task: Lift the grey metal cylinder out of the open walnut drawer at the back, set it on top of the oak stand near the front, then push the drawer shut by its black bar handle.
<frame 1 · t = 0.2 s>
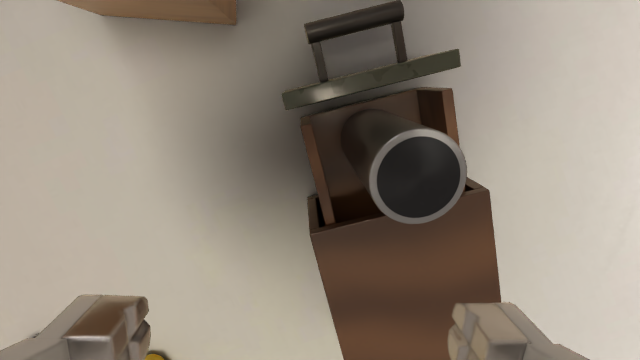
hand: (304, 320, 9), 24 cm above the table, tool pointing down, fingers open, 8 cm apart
grey metal cylinder: (370, 138, 31), point 2 cm above the table, touching drawer
drawer: (374, 136, 28), point 4 cm above the table, slide at 9.0 cm, touching grey metal cylinder
cabinet: (389, 250, 36), on the table
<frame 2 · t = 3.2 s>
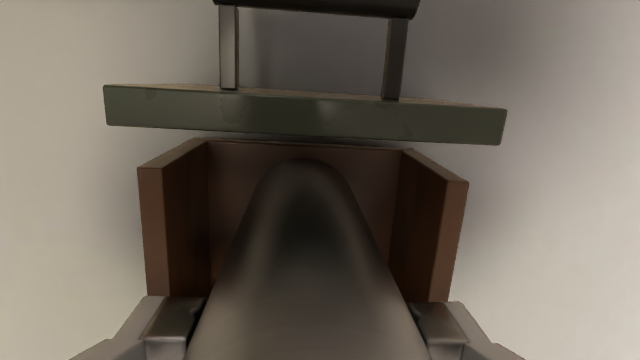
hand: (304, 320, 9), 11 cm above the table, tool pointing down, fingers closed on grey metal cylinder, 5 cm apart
grey metal cylinder: (302, 208, 18), point 2 cm above the table, touching drawer, gripper
drawer: (304, 214, 15), point 4 cm above the table, slide at 9.0 cm, touching grey metal cylinder
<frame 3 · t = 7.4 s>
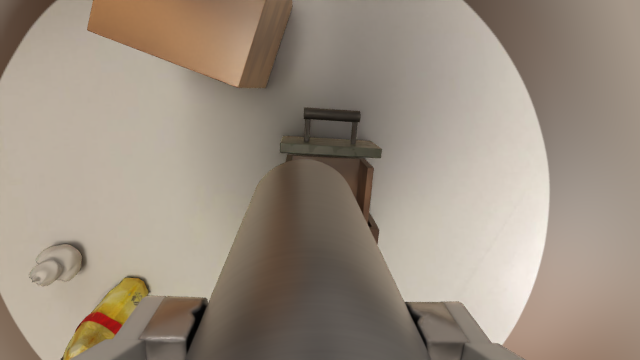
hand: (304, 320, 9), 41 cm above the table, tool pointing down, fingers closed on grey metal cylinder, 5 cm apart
grey metal cylinder: (303, 209, 18), point 32 cm above the table, touching gripper
beige swirled lump: (68, 257, 52), on the table
stand: (238, 32, 45), on the table
drawer: (326, 179, 46), point 4 cm above the table, slide at 9.0 cm
chocolate bunny: (128, 303, 54), on the table
when the fingers open (31 cm above the table, at t = 11.7 s): grey metal cylinder stays where it is, resting on stand.
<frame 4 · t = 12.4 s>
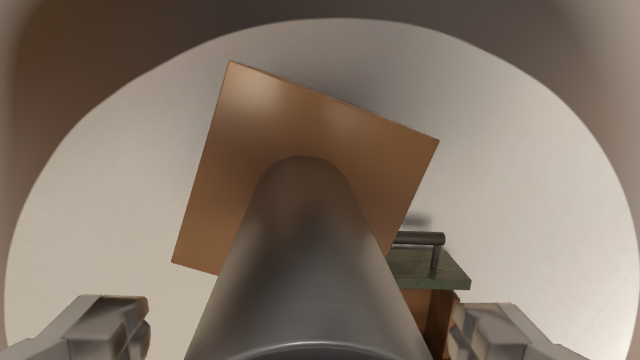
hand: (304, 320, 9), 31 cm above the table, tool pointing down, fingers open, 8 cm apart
grey metal cylinder: (303, 204, 18), point 22 cm above the table, touching stand
stand: (300, 137, 39), on the table
drawer: (399, 301, 41), point 4 cm above the table, slide at 9.0 cm
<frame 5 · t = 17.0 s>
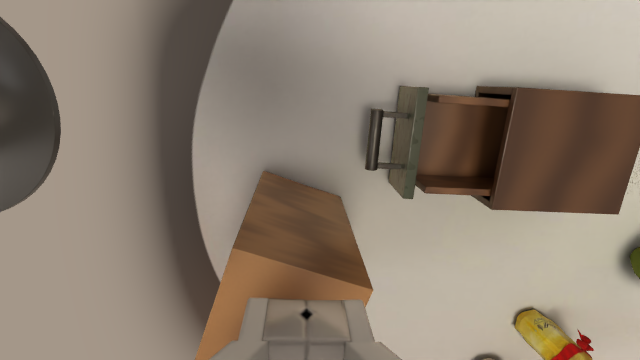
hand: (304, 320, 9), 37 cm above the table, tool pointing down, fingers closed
stand: (289, 219, 48), on the table
drawer: (443, 142, 42), point 4 cm above the table, slide at 9.0 cm
apple: (637, 254, 53), on the table
chocolate bunny: (541, 324, 56), on the table
cabinet: (523, 141, 47), on the table
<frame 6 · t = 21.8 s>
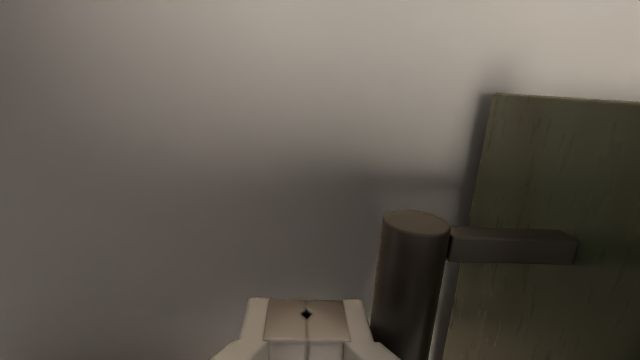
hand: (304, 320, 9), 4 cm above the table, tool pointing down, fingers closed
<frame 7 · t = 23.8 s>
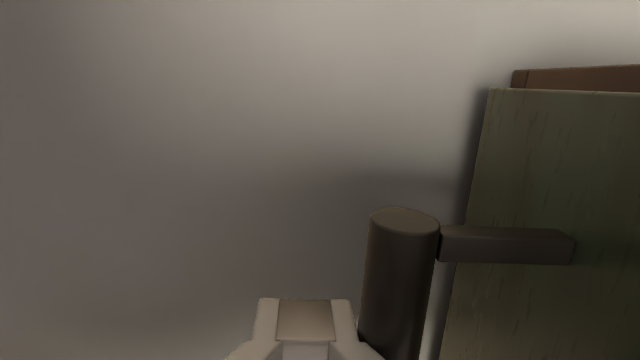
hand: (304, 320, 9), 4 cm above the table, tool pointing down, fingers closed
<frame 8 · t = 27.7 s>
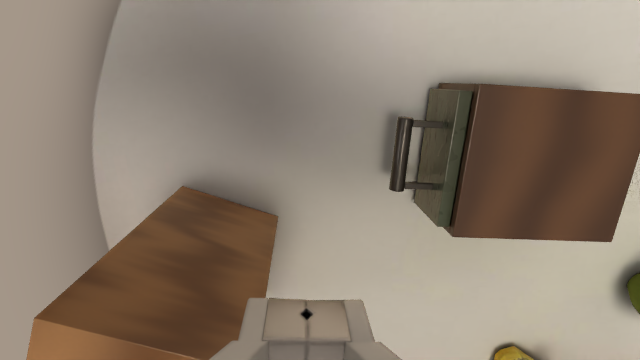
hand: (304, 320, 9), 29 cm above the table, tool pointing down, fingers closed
stand: (217, 244, 40), on the table
drawer: (484, 156, 34), point 4 cm above the table, slide at 0.0 cm
apple: (636, 281, 45), on the table
cabinet: (497, 150, 39), on the table
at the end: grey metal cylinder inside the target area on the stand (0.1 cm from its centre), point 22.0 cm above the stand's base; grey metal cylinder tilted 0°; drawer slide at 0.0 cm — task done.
